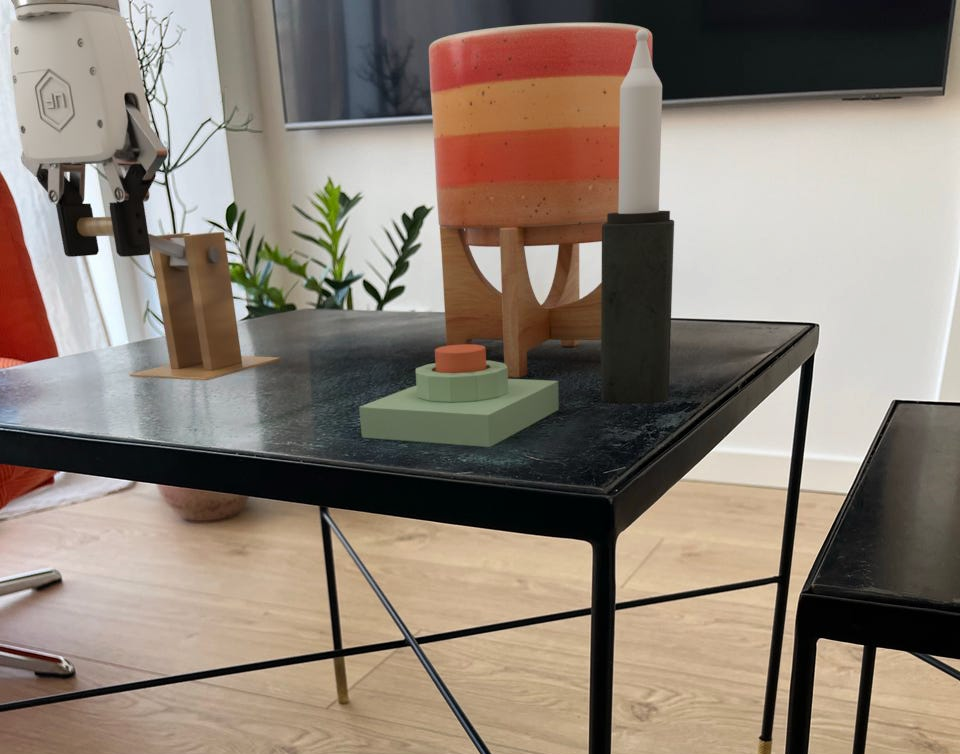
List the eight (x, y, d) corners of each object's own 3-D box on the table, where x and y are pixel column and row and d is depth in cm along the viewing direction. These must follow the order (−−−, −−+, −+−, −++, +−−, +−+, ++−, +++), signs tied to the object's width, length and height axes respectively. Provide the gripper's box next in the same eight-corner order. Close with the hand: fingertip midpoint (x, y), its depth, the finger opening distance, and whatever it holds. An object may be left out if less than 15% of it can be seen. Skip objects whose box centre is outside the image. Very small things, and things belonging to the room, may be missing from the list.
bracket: (207, 391, 90) (183, 237, 85) (131, 387, 94) (104, 239, 89) (281, 370, 99) (264, 229, 94) (209, 366, 103) (189, 231, 98)
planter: (623, 381, 86) (628, 12, 75) (409, 376, 93) (384, 37, 81) (667, 344, 103) (677, 39, 92) (484, 342, 109) (472, 58, 98)
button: (472, 379, 70) (471, 353, 69) (427, 376, 72) (425, 351, 71) (494, 369, 73) (494, 344, 72) (450, 368, 75) (449, 343, 74)
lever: (121, 238, 82) (122, 207, 81) (76, 240, 84) (76, 209, 83) (221, 272, 92) (222, 244, 92) (178, 272, 94) (180, 245, 94)
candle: (605, 390, 82) (608, 36, 72) (669, 390, 81) (681, 30, 71) (599, 403, 78) (601, 27, 68) (666, 403, 77) (678, 21, 67)
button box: (489, 447, 67) (487, 386, 65) (361, 438, 71) (356, 380, 69) (558, 410, 77) (558, 356, 75) (442, 403, 81) (439, 352, 79)
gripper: (-54, 3, 77) (-2, 258, 84) (112, -23, 70) (153, 258, 77) (27, 16, 83) (69, 253, 90) (187, -7, 76) (218, 252, 83)
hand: (107, 253), depth 84 cm, fingers closed on lever, 5 cm apart
